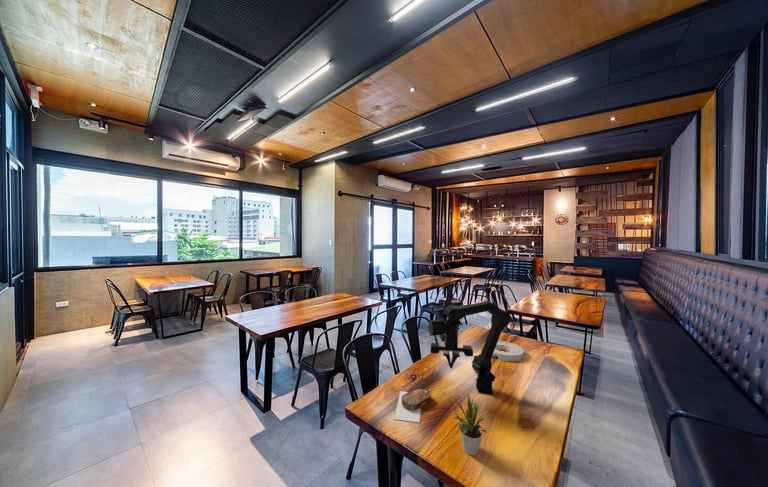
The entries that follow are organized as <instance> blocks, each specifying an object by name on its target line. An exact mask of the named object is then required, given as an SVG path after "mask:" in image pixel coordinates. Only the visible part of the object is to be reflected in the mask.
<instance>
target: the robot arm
mask: <svg viewBox="0 0 768 487" xmlns="http://www.w3.org/2000/svg"><path fill="white" fill-rule="evenodd" d="M485 312H487V313H489V314H490V315H491V318H490V322H491V323H490V324H491V327H490V329H489V331H488V334H487V336H486V338H485V341H484V343H485V344H484V343H483V345H484V346H482V349H481V352H480V354H478V355H476V354H475V355H474V349H473V347H472V346H471V345H465V344H464V345H462V347H459V326H463V322H461V320H462V319H463V318H465V317H467V316H470V315H476V314H481V313H485ZM511 320H512V316H511V314H510V312H508V311H506V310H504V309H502V308H500V307H498V306H497V305H495V304H494V302H491V301H489V300H485V301H481V302H477V303H471V304H467V305H447V306H445V308H444V310H443V312H442V313H441V315H440V317H439V318H438V319H430V322H429V323H428V326H427V327H428V333H429V336H432V337H435V336H441V337H440V340H441V342H444V346H443V345H440V343H439V342H438V343H437V342H431V343H430V354H434V355H435V354H437V355H438V354H439V353H440V351H441V352H442V355H443V357H446V360H447V363H448V366H449V368H450V369H453V367H454V364H455V362H456V361H457V359H458V358H461V356H460V353H463V354H464V356H465V357H473V360H472V362H471V367H472V370H474V372H475V374H476V376H477V377H476V378H475V389H476V390H477V392H478V393H479V394H487V395H493V394H494V392H493V382H495V379H496V375H494V374H493V373H492V372H491V371H492V355H493V352H494V350H495V347H496V345H497V342H498V341H500V340H499V339H500V336H501V334H502V332H503V330H505V329H506V328H507V327H508V326H509V324H510V322H511ZM450 352H451V354H450ZM478 393H477V394H478Z"/></svg>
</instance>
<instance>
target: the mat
mask: <svg viewBox="0 0 768 487" xmlns="http://www.w3.org/2000/svg"><path fill="white" fill-rule="evenodd" d="M408 392H409V391H401V390H400V391H399V396H398V399H397V405H396V409H395V414H394V418H393V420H395V421H401V422H409V423H419V424H420V423H421V412H422V409H421V408H422V407H420V408H419V409H416V410H409V409H407V408H405V407H404V406H403V405H402V396H403V395H405V394H407V393H408Z"/></svg>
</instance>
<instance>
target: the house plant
mask: <svg viewBox="0 0 768 487" xmlns="http://www.w3.org/2000/svg"><path fill="white" fill-rule="evenodd" d="M451 401H454V402H455V403H456V404H457V405H458V406H459V408H460V410H461V411H459V410H451V412H452V413H454V415H456V416H454V417H453V418H452V420H459V421H460V423H458V424H456V426H458V429H457V431H459V430H460V436H461V437H460V438H461V443H462V449H463V451H464V452H465V453H466V454H469V455H472V456H476V455H478V454H479V452H480V447H481V442H482V438H483V432H484V433H486V434H488V432H487V430H486V429H483V427H482V426H481V425H480V423H481V422H482V421H484V420H488V419H490V417H488V416H486V417H483V416H484V415H485V414H486V412H487V411H488V409H487V410H486V411H485V412H483V414H482V415H481V416H480V417H479V418H478V419H477V417H478V416H477V415H478V411H479V403H478V402H476V401H475V399H472V400H471V398H470V395H469V393H467V409H466V411H464V408H463V406H462V405H461V404H460V403H459V402H457V400H454V399H451ZM473 404H474V405H473ZM462 413H463V414H462ZM460 416H461V417H460ZM476 420H477V421H476Z"/></svg>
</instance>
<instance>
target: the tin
mask: <svg viewBox="0 0 768 487" xmlns="http://www.w3.org/2000/svg"><path fill="white" fill-rule="evenodd" d="M407 392H408V393H407V394H405V395H403V396H402V405H403V406H404V407H405V408H407V409H409V410H416V409H419V408H420V407H421V408H422V407H423V406H425V405H427V404H428V403H430V402H431V400H432V392H431V391H430V390H429V389H427V388H424V387H417V388H414V389H413V390H410V391H407Z"/></svg>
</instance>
